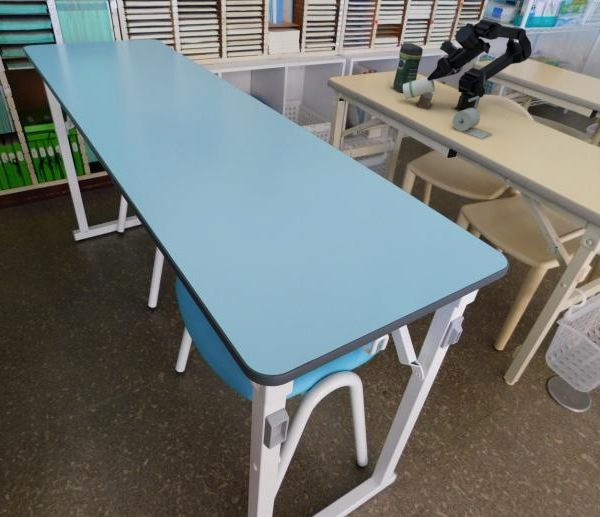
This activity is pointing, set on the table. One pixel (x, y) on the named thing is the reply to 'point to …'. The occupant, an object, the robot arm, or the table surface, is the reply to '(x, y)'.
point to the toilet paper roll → (469, 120)
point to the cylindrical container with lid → (418, 88)
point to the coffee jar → (407, 65)
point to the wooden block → (425, 100)
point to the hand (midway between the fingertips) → (431, 79)
